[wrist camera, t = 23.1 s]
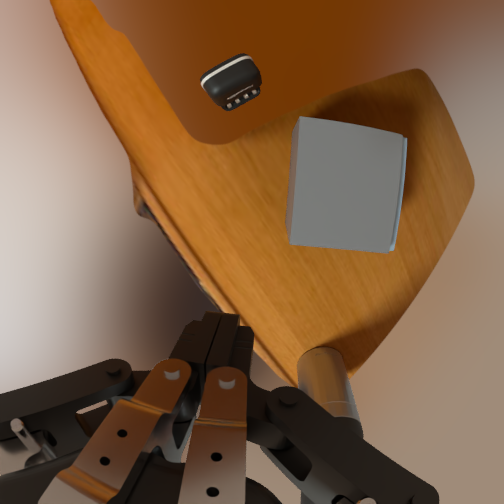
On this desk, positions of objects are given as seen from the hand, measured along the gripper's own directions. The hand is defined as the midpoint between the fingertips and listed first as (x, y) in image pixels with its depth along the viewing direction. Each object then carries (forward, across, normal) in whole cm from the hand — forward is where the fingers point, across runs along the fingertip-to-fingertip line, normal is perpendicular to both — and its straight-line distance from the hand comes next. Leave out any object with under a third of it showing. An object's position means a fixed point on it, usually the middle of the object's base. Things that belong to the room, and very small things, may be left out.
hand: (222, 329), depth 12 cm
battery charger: (+31, +4, -18) cm, 36 cm away
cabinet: (+31, -10, -6) cm, 33 cm away
